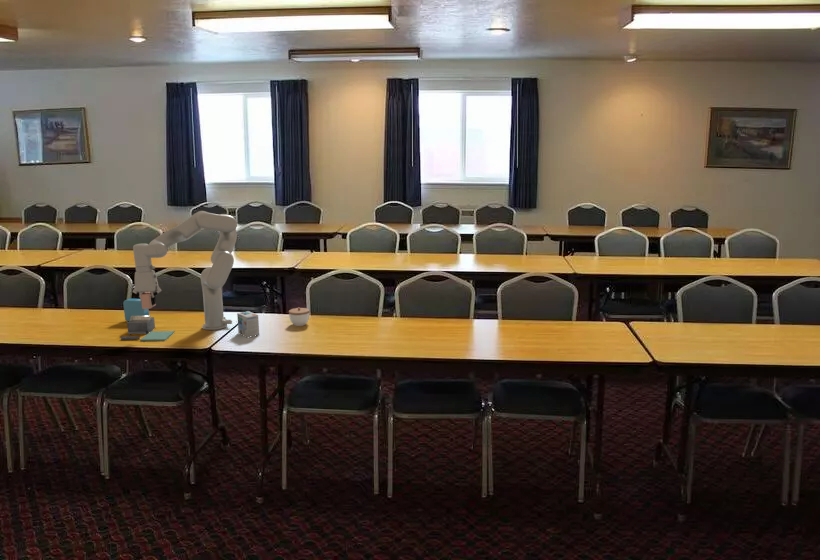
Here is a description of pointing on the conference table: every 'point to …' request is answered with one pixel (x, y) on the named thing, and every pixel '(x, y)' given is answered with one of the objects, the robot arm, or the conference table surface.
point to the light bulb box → (248, 324)
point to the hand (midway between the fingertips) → (148, 304)
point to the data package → (134, 308)
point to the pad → (157, 336)
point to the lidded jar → (299, 316)
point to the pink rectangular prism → (146, 300)
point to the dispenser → (139, 326)
